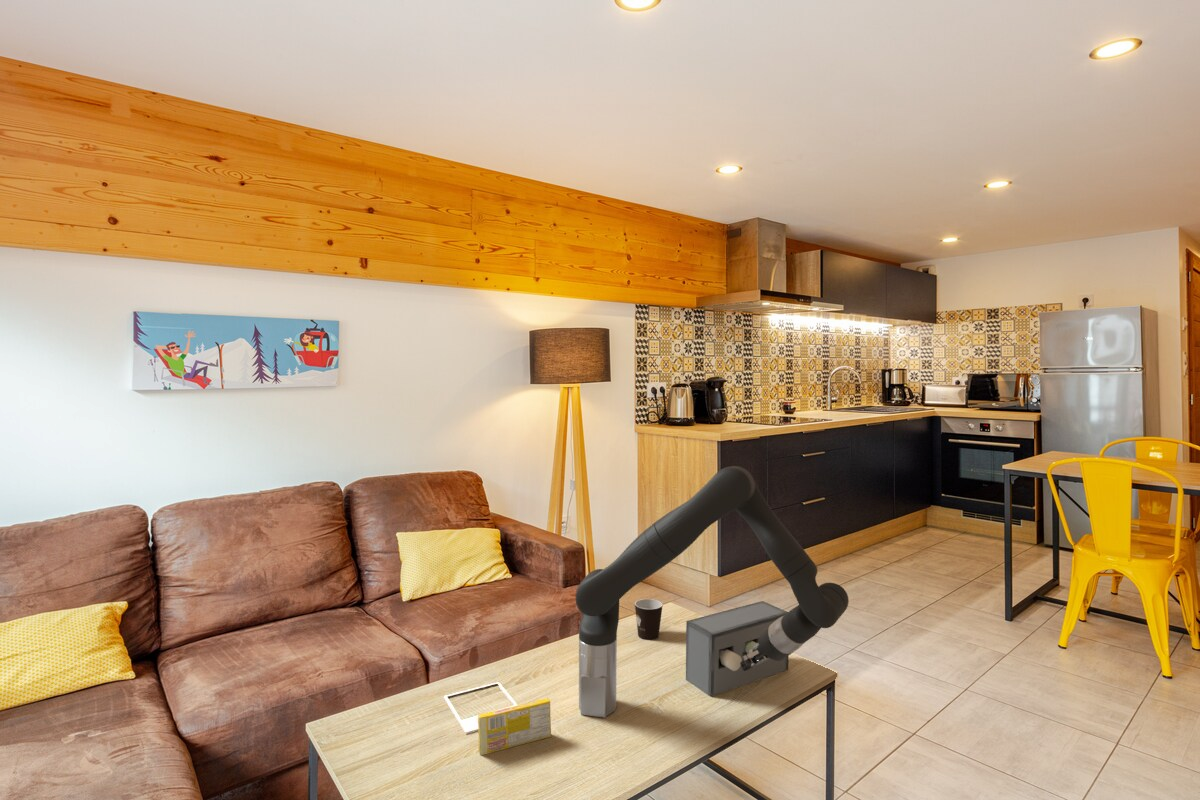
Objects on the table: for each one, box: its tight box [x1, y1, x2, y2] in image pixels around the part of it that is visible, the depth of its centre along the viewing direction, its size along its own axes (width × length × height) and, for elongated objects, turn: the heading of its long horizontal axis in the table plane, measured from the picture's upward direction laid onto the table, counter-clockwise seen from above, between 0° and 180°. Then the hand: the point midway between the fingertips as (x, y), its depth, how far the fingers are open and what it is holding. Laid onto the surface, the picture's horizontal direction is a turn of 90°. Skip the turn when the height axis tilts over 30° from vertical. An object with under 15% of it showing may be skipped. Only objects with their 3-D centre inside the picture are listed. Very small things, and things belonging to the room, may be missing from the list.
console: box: [685, 600, 790, 697], centre depth 169 cm, size 10×28×16 cm, turn 121°
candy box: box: [477, 697, 552, 756], centre depth 138 cm, size 16×2×8 cm, turn 115°
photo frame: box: [443, 681, 518, 735], centre depth 153 cm, size 15×1×18 cm
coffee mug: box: [634, 598, 664, 641], centre depth 195 cm, size 12×9×10 cm
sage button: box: [745, 640, 757, 653], centre depth 167 cm, size 7×4×4 cm, turn 31°
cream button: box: [719, 649, 742, 671], centre depth 160 cm, size 7×4×4 cm, turn 31°
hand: (743, 666), depth 156 cm, fingers closed
